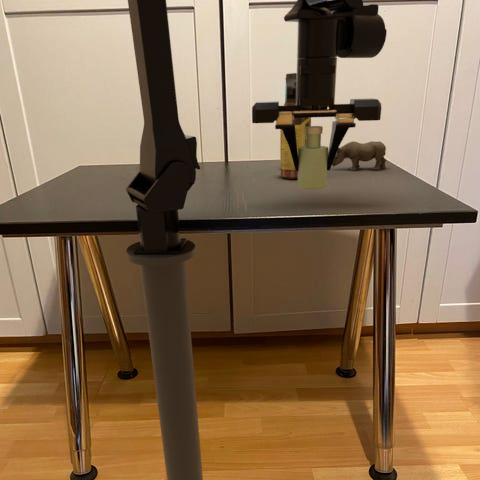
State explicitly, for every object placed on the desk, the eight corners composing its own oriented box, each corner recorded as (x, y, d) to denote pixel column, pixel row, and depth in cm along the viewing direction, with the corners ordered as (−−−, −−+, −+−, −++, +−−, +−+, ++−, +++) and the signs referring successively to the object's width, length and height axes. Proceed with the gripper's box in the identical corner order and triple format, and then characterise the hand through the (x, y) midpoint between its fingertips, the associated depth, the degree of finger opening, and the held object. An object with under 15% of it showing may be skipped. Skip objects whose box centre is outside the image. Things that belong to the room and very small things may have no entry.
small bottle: (327, 189, 75) (330, 127, 71) (297, 189, 75) (299, 128, 71) (325, 183, 79) (328, 125, 75) (297, 184, 79) (298, 125, 75)
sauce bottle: (311, 179, 100) (315, 72, 91) (281, 180, 100) (282, 73, 91) (307, 174, 106) (310, 72, 97) (279, 174, 106) (279, 73, 97)
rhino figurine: (324, 168, 112) (325, 141, 110) (384, 167, 111) (387, 139, 108) (325, 171, 109) (326, 143, 106) (387, 170, 107) (390, 141, 105)
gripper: (373, 58, 76) (364, 161, 83) (255, 62, 77) (256, 163, 84) (387, 55, 66) (376, 172, 73) (251, 59, 67) (252, 174, 74)
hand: (312, 170), depth 76 cm, fingers closed on small bottle, 4 cm apart
